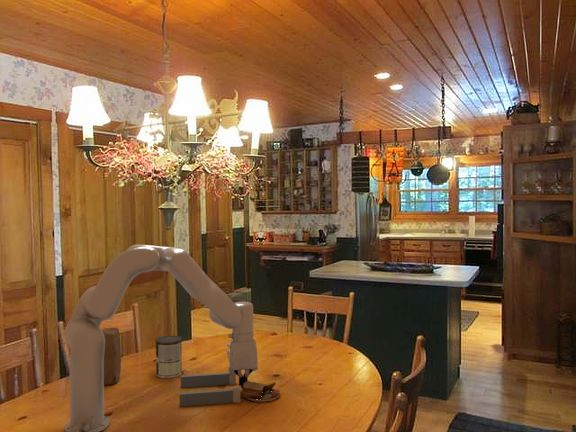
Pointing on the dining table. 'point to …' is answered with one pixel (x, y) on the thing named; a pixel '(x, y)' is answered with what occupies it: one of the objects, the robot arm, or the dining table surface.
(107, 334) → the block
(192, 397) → the chute
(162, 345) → the coffee can
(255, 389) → the toy sandwich meal
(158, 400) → the dining table surface
